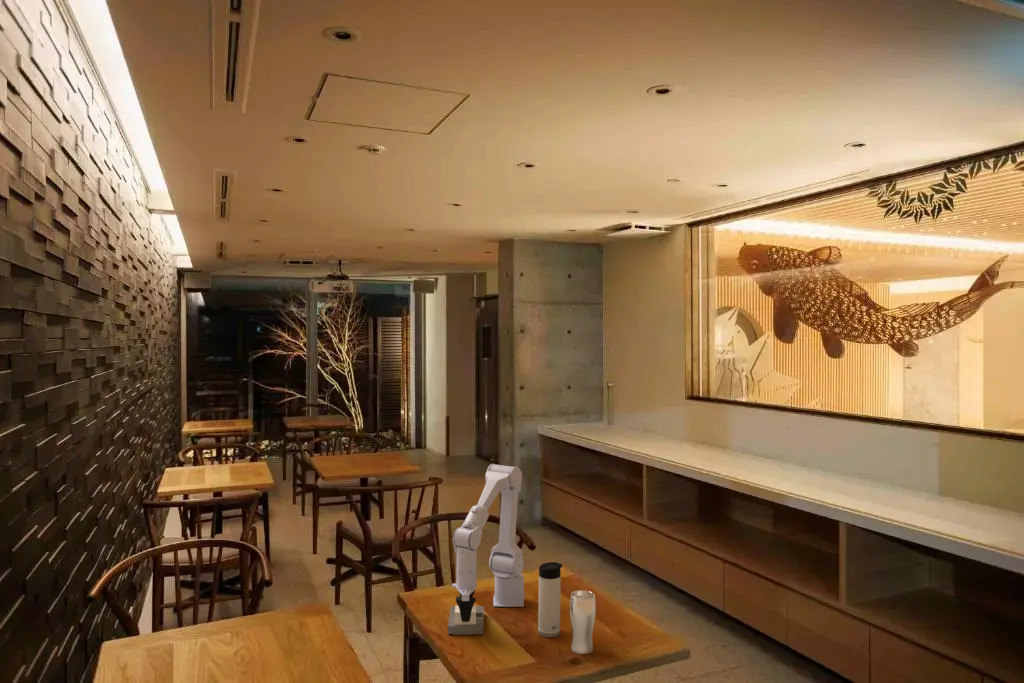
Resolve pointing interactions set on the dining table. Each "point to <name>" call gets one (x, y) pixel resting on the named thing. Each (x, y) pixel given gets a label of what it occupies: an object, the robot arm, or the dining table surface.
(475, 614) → the plug
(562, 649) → the dining table surface
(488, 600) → the dining table surface
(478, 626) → the socket plate
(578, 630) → the beer glass
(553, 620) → the travel mug
